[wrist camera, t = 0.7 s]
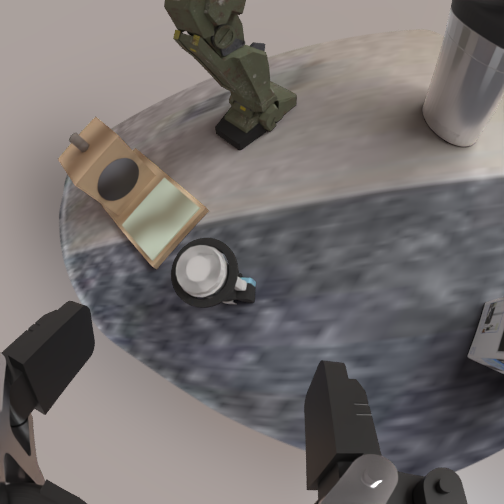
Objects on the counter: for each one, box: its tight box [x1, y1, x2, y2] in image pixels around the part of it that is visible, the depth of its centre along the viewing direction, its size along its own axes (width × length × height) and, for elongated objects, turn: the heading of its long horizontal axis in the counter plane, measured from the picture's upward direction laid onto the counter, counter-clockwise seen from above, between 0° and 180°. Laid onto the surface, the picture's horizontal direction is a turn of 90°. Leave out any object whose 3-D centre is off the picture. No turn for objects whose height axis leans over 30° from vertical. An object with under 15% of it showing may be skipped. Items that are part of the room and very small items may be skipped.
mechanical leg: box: [164, 0, 297, 150], centre depth 23 cm, size 14×7×30 cm, turn 134°
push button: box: [171, 238, 256, 308], centre depth 26 cm, size 7×5×10 cm
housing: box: [58, 117, 208, 269], centre depth 30 cm, size 16×9×12 cm, turn 47°
